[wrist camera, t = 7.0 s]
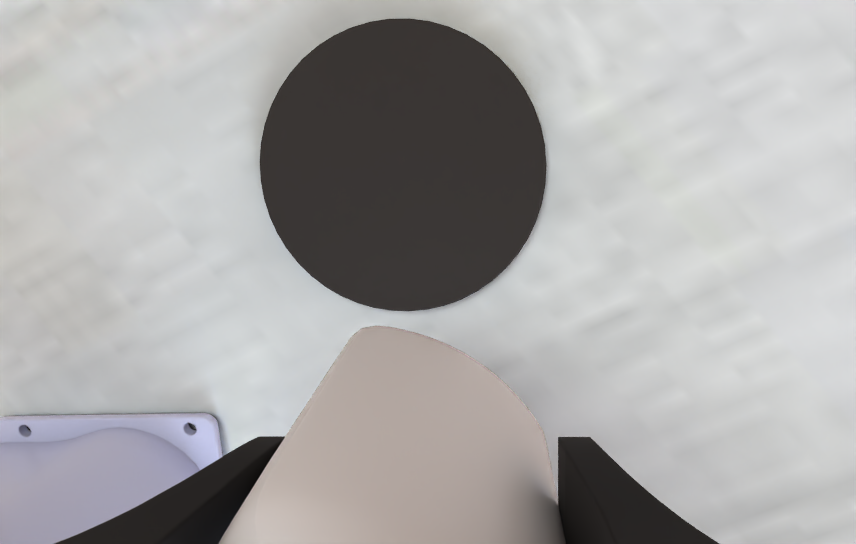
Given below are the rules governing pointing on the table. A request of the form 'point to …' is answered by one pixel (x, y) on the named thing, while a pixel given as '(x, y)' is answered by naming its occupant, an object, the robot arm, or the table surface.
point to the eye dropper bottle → (405, 456)
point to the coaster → (403, 164)
